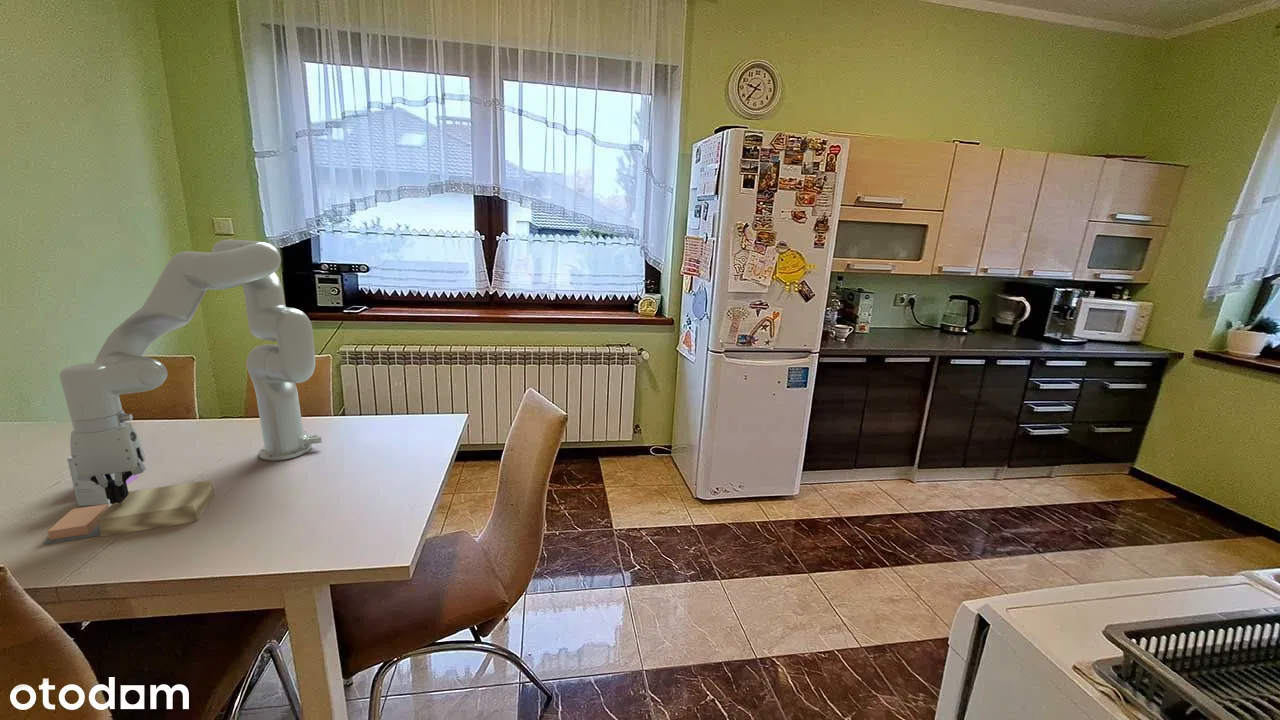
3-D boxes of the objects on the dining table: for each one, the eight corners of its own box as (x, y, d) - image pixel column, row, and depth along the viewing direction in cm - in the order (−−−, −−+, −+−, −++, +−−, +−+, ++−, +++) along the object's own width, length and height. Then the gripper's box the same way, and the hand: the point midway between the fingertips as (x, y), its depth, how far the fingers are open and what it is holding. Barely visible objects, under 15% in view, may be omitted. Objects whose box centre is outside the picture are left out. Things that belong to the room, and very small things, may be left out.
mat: (127, 508, 118) (126, 507, 118) (102, 535, 108) (102, 533, 108) (73, 516, 114) (73, 515, 114) (43, 544, 105) (43, 543, 105)
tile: (72, 508, 113) (74, 517, 114) (47, 531, 105) (50, 539, 106) (108, 503, 116) (110, 511, 116) (86, 525, 108) (89, 533, 108)
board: (214, 495, 125) (211, 480, 124) (197, 521, 114) (193, 505, 113) (128, 507, 118) (124, 492, 117) (101, 536, 108) (96, 519, 107)
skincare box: (77, 506, 118) (63, 458, 115) (92, 496, 122) (79, 450, 119) (109, 504, 119) (96, 456, 116) (123, 494, 124) (111, 448, 120)
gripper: (153, 412, 114) (169, 486, 119) (61, 420, 108) (82, 498, 113) (137, 424, 107) (156, 502, 112) (38, 433, 101) (62, 516, 106)
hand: (119, 500), depth 112 cm, fingers closed
